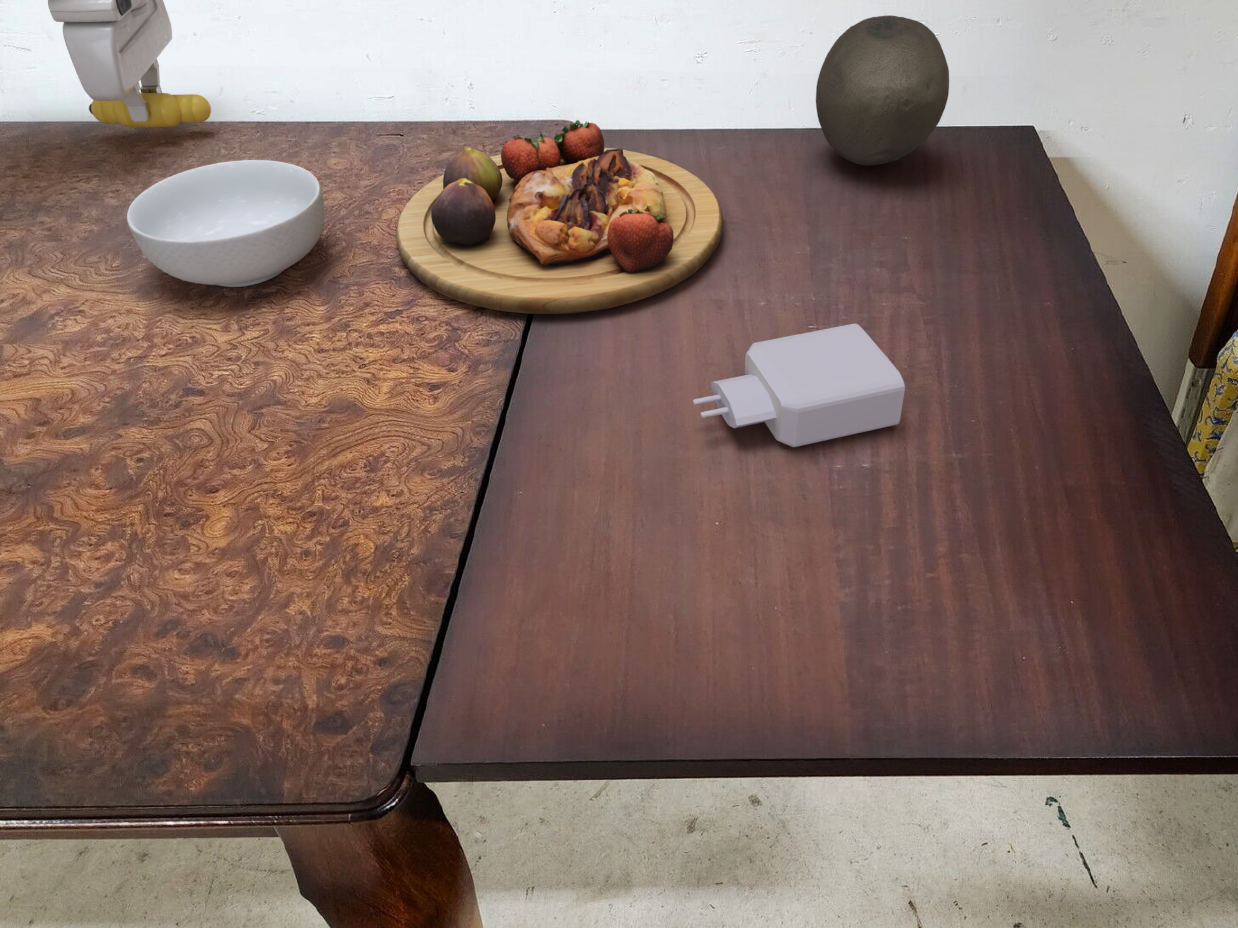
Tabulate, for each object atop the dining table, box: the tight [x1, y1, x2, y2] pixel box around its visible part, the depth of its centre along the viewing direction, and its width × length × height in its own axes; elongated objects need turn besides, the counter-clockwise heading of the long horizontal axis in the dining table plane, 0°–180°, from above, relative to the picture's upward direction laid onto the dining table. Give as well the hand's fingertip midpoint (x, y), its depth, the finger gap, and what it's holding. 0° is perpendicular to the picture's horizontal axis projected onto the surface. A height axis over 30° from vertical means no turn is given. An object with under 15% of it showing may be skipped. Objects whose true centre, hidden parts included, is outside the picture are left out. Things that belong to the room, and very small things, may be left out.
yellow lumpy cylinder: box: [88, 92, 212, 129], centre depth 123 cm, size 13×4×4 cm, turn 94°
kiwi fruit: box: [815, 14, 950, 166], centre depth 114 cm, size 14×14×15 cm
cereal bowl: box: [126, 159, 326, 288], centre depth 101 cm, size 17×17×7 cm
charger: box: [692, 323, 906, 448], centre depth 84 cm, size 5×9×15 cm
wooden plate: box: [395, 119, 724, 315], centre depth 105 cm, size 32×32×8 cm
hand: (148, 110), depth 122 cm, fingers closed on yellow lumpy cylinder, 3 cm apart
